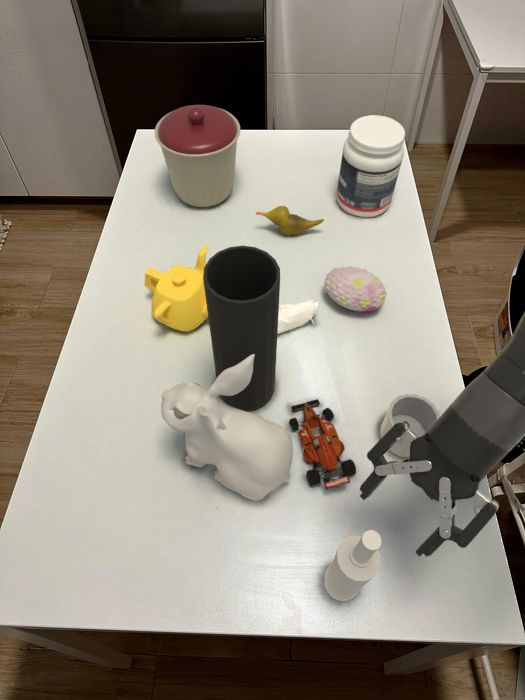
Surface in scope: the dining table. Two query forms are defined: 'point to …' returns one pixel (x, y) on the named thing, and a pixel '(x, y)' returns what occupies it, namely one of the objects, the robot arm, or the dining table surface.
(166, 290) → the teapot
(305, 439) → the toy car
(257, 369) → the vase
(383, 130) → the supplement tub
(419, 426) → the stand
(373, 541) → the bottle
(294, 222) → the olive yellow toy bird
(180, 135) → the canister
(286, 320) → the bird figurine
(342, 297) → the decorative item
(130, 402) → the dining table surface
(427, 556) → the robot arm
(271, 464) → the rabbit
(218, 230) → the dining table surface
